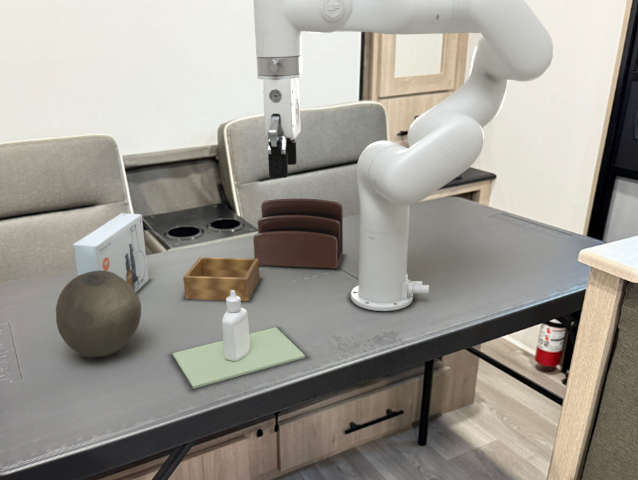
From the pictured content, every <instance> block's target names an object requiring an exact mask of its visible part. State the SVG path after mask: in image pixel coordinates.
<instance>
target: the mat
mask: <svg viewBox="0 0 638 480" xmlns="http://www.w3.org/2000/svg"><path fill="white" fill-rule="evenodd" d="M249 338H250V350H249V352H248V354H247V355H246V356H245V357H243V358H242V359H240V360H238V361H230V360H227V359H225V354H224V344H223V340H219V341H214V342H211V343H206V344H203V345H200V346H196V347H191V348H187V349H183V350H179V351H175V352H172V357H173V358H174V360H175V362H176V363H177V365H178V366H179V368H180V369H181V371H182V373H183V374H184V377H186V379H187V381H188V383H189V384H190V386H191V387H192V389H194V390H195V389H198V388H201V387H205V386H209V385H213V384H216V383H221V382H224V381H227V380H230V379H234V378H237V377H241V376H244V375H248V374H252V373H256V372H260V371H263V370H266V369H270V368H273V367H274V368H275V367H277V366H280V365H285V364H288V363H291V362H295V361H299V360H302V359H305V358H306V355H305V354H304V353H303V352H302V351H301V350H300V348H299V347H297V346H296V345H295V344H294V343H293V342H292V341H291V340H290V339H289V338H288V337H287V336H286V335H285V334H284V333H282V331H280V329H279V328H277V327H276V326H275V327H270V328H266V329H263V330H258V331H255V332H249Z"/></svg>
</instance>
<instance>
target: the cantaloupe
mask: <svg viewBox="0 0 638 480" xmlns="http://www.w3.org/2000/svg"><path fill="white" fill-rule="evenodd" d="M139 297H140V296H139V295H138V294H137V292H135V291H134V289H133V287H132V286H131V285H130V284H129V283H128V282H127V281H125V280H124V279H123V278H121V277H119V276H118V275H116V274H115V273H112V272H109V271H101V270H100V271H91V272H87V273H84V274H81V275H79V276H78V275H77V276H75V277H74V278H72V279H71V280H70V281H68V283H67V284H66V285H65V286H64V287H63V288H62V290H61V292H60V293H59V296H58V297H57V301H56V305H55V322H56V327H57V330H58V333H59V335H60V336H61V338H62V340H63V341H64V343H65V344H66V345H67V346H68V347H69V348H70V349H72V351H74V352H75V353H76V354H78V355H80V356H83V357H86V358H102V357H107V356H110V355H111V354H114V353H116V352H117V351H119V350H120V349H122V348H123V347H124V346H125V345H126V344H127V342H128V341H129V340H130V339H131V338H132V337H133V336H134V335H135V333H136V331H137V329H138V328H139V325H140V322H141V318H142V303H141V299H140V298H139Z"/></svg>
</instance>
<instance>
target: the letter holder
mask: <svg viewBox="0 0 638 480" xmlns="http://www.w3.org/2000/svg"><path fill="white" fill-rule="evenodd" d="M260 207H261V217H260V218H259V219H257V233H256V234H254V236H253V237H252V238H253V239H252V240H253V256H254V258H253V259H259V267H260V266H261V267H262V266H264V267H283V268H284V267H285V268H307V269H327V270H338V268H339V265H340V263H341V260H342V257H343V253H344V250H343V249H344V247H343V245H344V239H343V238H344V237H343V236H344V232H343V230H344V229H343V228H344V226H343V225H344V224H343V223H344V222H343V220H344V219H343V218H344V213H343V212H344V209H343V205H342V204H341V203H340V202H338V201H333V200H327V199H326V200H325V199H319V198H318V199H317V198H296V197H295V198H277V199H270V200H264V201H262V202H261V205H260Z"/></svg>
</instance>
